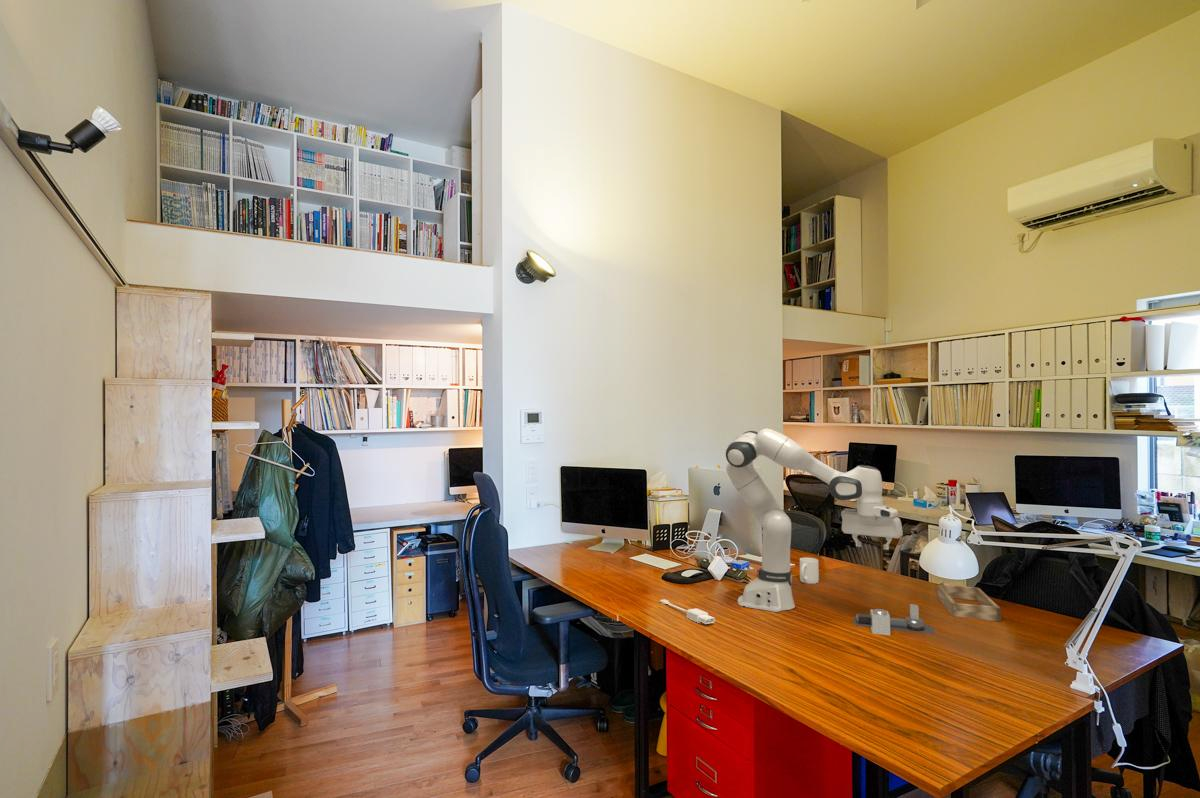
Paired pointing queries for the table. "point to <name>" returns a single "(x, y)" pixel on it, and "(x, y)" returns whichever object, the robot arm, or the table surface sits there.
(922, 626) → the ratchet
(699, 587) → the table surface
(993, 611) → the frame
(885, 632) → the socket
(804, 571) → the mug
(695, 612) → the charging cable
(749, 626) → the table surface
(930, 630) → the tool mat
